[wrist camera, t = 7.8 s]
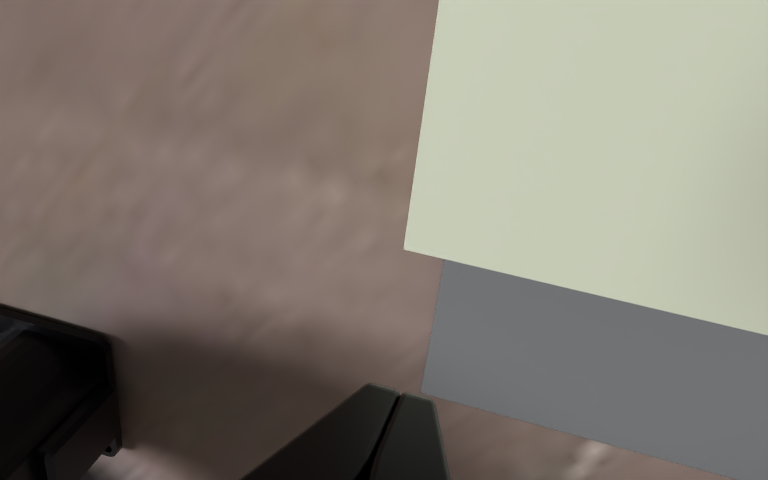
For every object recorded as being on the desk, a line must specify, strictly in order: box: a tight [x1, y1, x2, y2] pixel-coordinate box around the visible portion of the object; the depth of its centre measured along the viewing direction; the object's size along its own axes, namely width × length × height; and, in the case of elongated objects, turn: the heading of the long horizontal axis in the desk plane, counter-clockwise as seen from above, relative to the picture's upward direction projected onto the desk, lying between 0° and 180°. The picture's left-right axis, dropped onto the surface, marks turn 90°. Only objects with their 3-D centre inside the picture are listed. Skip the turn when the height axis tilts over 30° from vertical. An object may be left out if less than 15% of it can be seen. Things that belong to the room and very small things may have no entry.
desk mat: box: [421, 259, 768, 480], centre depth 17 cm, size 14×24×1 cm, turn 174°
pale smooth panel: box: [404, 0, 768, 335], centre depth 17 cm, size 2×10×10 cm
